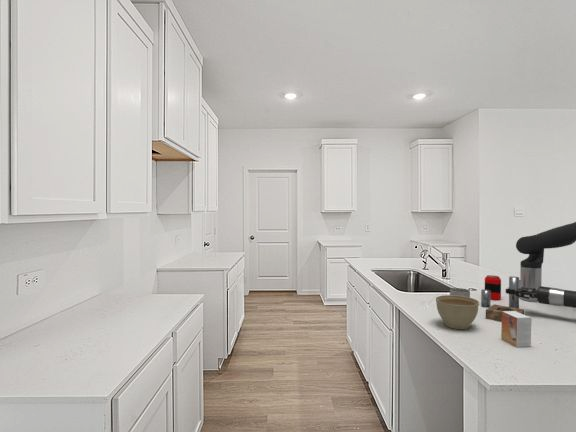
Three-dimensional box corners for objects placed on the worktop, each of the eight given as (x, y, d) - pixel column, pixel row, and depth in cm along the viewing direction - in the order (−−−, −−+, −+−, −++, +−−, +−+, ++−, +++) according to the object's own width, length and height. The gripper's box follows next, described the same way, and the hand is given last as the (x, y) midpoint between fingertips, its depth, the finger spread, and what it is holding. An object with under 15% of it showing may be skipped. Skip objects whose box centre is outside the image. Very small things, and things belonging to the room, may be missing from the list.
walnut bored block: (485, 318, 156) (485, 309, 156) (493, 312, 165) (493, 304, 165) (517, 325, 148) (517, 315, 148) (524, 318, 156) (524, 309, 156)
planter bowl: (429, 319, 156) (429, 294, 155) (467, 319, 155) (467, 295, 155) (444, 332, 139) (445, 305, 139) (486, 332, 139) (487, 305, 139)
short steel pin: (479, 305, 177) (479, 289, 177) (486, 305, 178) (486, 289, 177) (484, 307, 173) (485, 291, 173) (492, 307, 174) (492, 291, 173)
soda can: (497, 301, 185) (498, 278, 184) (482, 298, 190) (482, 276, 190) (503, 298, 190) (503, 276, 189) (487, 296, 195) (487, 274, 195)
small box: (500, 339, 133) (501, 310, 132) (515, 338, 133) (515, 310, 133) (516, 347, 125) (516, 317, 124) (531, 346, 125) (531, 317, 125)
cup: (461, 314, 162) (461, 292, 162) (446, 310, 170) (446, 289, 169) (473, 312, 166) (473, 290, 166) (458, 307, 174) (458, 287, 173)
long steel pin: (506, 310, 169) (507, 276, 168) (514, 309, 169) (514, 276, 169) (513, 312, 165) (513, 278, 164) (521, 312, 165) (521, 277, 165)
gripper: (554, 285, 161) (511, 279, 174) (548, 290, 151) (502, 284, 164) (554, 301, 162) (511, 295, 174) (548, 308, 152) (502, 300, 164)
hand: (507, 290), depth 169 cm, fingers closed on long steel pin, 4 cm apart
